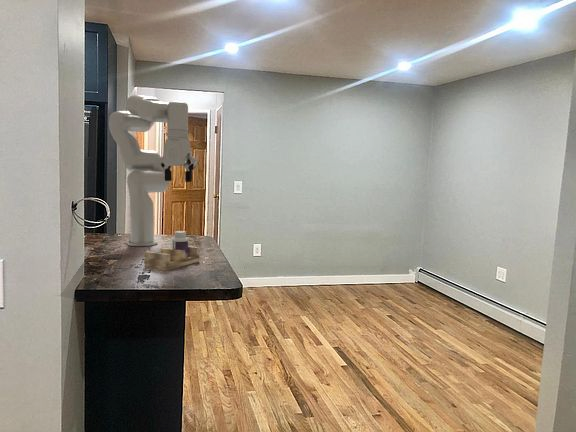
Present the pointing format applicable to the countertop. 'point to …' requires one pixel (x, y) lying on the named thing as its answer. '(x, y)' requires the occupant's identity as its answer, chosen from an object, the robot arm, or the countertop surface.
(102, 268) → the countertop surface
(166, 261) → the rack
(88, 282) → the countertop surface
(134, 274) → the countertop surface
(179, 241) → the pill bottle
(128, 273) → the countertop surface
